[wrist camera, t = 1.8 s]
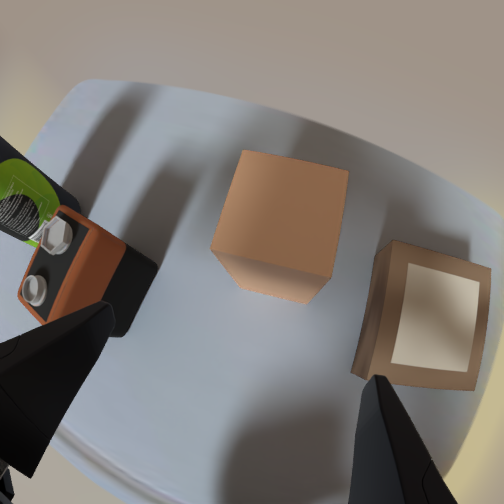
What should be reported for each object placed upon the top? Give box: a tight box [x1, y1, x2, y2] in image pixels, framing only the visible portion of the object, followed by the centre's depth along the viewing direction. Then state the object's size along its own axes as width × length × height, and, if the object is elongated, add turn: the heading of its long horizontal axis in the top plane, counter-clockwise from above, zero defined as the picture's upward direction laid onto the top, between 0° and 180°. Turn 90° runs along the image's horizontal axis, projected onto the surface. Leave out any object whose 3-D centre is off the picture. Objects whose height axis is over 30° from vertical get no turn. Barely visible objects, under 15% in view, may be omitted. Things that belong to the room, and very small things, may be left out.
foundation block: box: [351, 240, 491, 391], centre depth 17 cm, size 9×9×4 cm
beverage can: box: [0, 136, 80, 248], centre depth 17 cm, size 6×6×15 cm
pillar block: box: [210, 150, 349, 304], centre depth 17 cm, size 5×5×10 cm
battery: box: [18, 205, 158, 337], centre depth 17 cm, size 4×7×10 cm, turn 154°
